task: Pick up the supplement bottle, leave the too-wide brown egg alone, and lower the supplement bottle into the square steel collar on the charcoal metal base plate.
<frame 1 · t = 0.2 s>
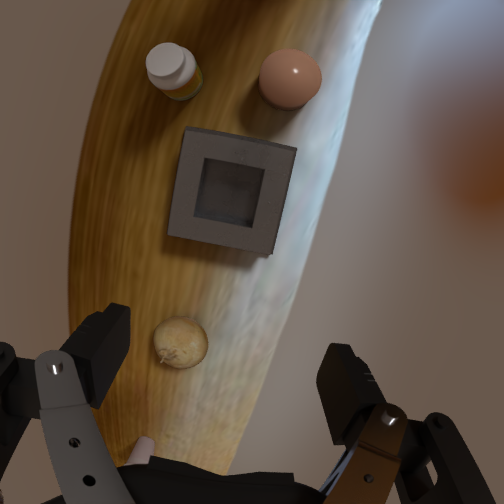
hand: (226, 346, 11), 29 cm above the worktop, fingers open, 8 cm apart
brown egg: (285, 85, 34), on the worktop
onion: (184, 331, 44), on the worktop
collar socket: (230, 189, 37), on the worktop
supplement bottle: (183, 82, 33), on the worktop
smoothie: (146, 440, 52), on the worktop
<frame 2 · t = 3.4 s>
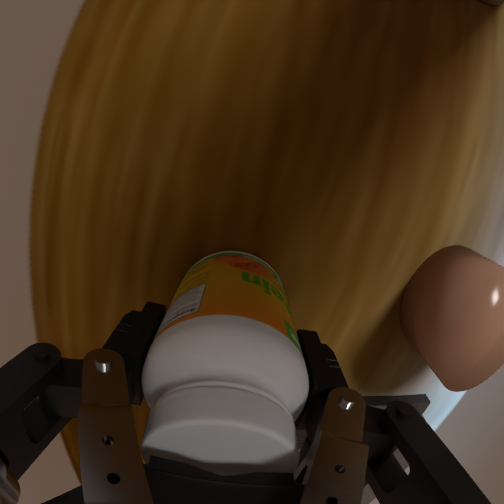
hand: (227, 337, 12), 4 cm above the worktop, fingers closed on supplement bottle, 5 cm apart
brown egg: (444, 298, 16), on the worktop
collar socket: (315, 452, 20), on the worktop
supplement bottle: (232, 297, 15), on the worktop, touching gripper
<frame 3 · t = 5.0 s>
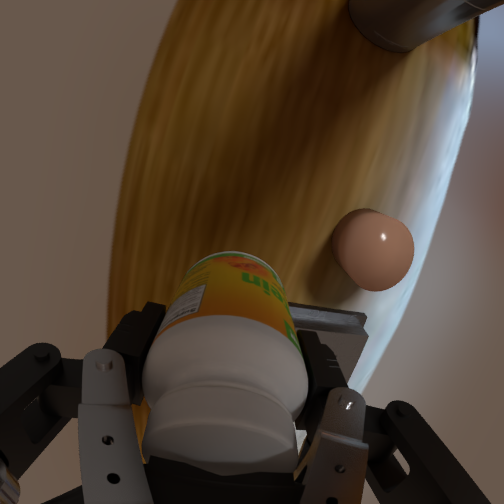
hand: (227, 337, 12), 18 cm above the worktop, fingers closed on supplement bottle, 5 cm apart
brown egg: (362, 241, 30), on the worktop
collar socket: (291, 356, 33), on the worktop
supplement bottle: (232, 297, 15), point 14 cm above the worktop, touching gripper
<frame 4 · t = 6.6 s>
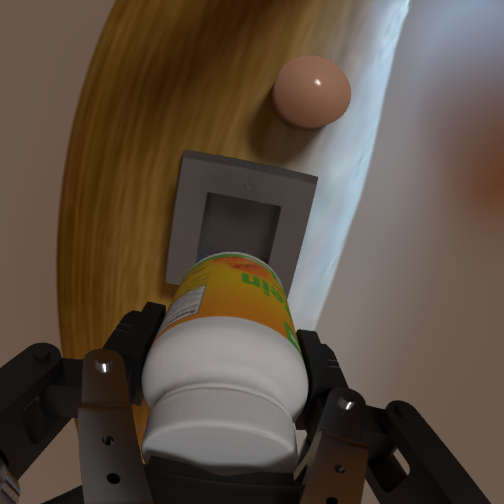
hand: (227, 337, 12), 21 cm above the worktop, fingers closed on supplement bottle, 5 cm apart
brown egg: (303, 99, 28), on the worktop
collar socket: (238, 226, 32), on the worktop
supplement bottle: (231, 298, 15), point 18 cm above the worktop, touching gripper
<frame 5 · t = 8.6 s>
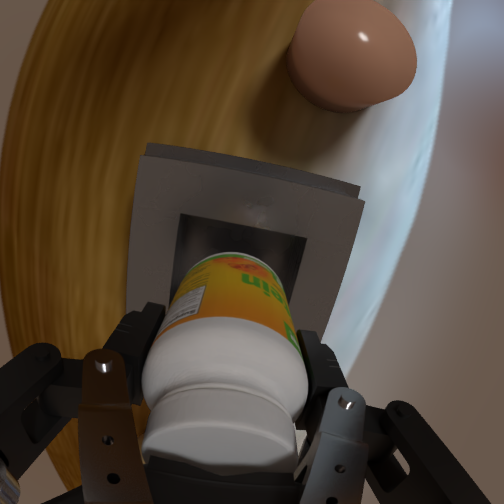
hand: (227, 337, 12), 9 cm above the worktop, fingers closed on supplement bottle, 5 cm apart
brown egg: (336, 66, 17), on the worktop
collar socket: (234, 261, 21), on the worktop
supplement bottle: (231, 298, 15), point 6 cm above the worktop, touching gripper
when the fingers open (6 cm above the worktop, at t = 10.2 s): supplement bottle drops 2 cm, resting on collar socket.
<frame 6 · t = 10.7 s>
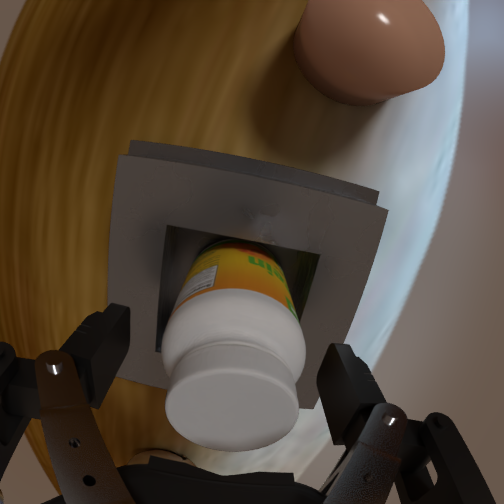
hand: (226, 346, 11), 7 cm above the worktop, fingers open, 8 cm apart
brown egg: (350, 53, 14), on the worktop
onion: (169, 459, 24), on the worktop
collar socket: (233, 277, 18), on the worktop
supplement bottle: (236, 280, 17), point 1 cm above the worktop, touching collar socket
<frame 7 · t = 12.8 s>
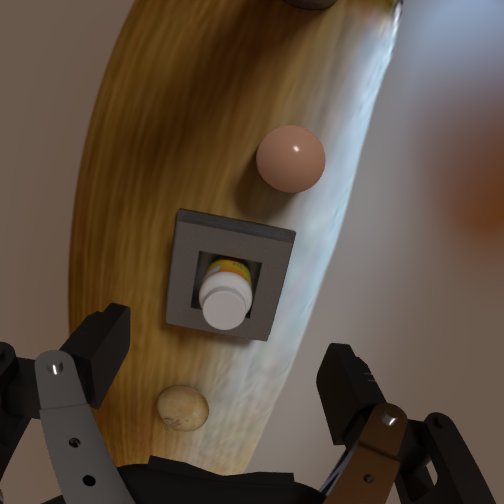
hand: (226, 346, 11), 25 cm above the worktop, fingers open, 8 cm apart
brown egg: (285, 160, 34), on the worktop
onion: (185, 395, 43), on the worktop
collar socket: (226, 274, 37), on the worktop
supplement bottle: (228, 275, 36), point 1 cm above the worktop, touching collar socket
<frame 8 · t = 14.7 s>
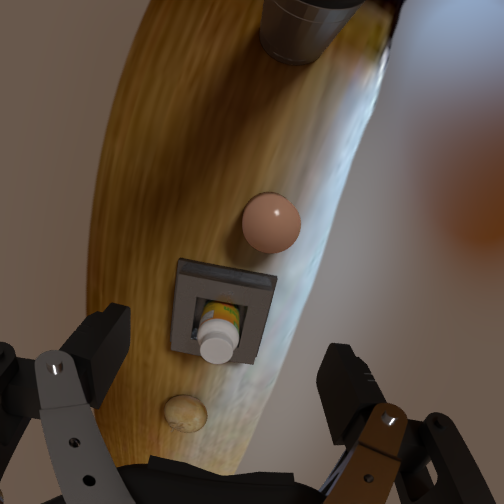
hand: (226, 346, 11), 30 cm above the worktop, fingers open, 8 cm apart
brown egg: (268, 217, 40), on the worktop
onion: (187, 402, 51), on the worktop
collar socket: (220, 309, 44), on the worktop
supplement bottle: (221, 311, 43), point 1 cm above the worktop, touching collar socket
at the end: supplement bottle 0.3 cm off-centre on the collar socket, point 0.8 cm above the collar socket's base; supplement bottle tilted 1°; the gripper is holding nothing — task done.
